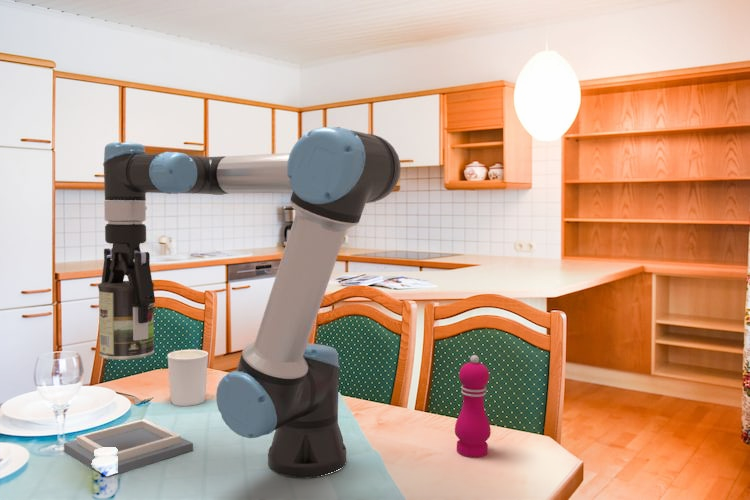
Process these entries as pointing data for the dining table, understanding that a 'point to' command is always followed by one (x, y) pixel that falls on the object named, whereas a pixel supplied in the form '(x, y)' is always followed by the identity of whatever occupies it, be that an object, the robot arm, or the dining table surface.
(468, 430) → the pepper mill
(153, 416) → the dining table surface
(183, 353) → the candle holder
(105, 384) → the dining table surface
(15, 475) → the dining table surface
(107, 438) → the grey square tray
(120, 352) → the coffee can
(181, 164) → the robot arm
